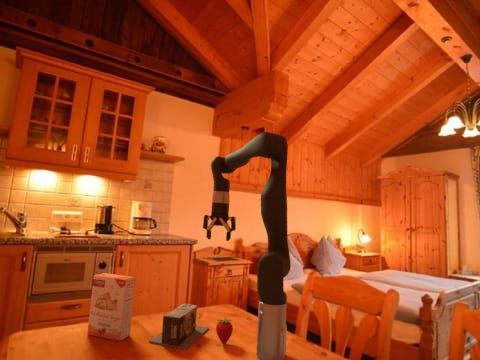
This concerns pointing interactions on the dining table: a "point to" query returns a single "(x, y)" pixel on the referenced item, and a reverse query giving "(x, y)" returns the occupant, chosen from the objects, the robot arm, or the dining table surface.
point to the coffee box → (179, 324)
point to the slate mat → (187, 342)
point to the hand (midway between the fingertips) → (218, 240)
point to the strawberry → (224, 330)
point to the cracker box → (111, 306)
